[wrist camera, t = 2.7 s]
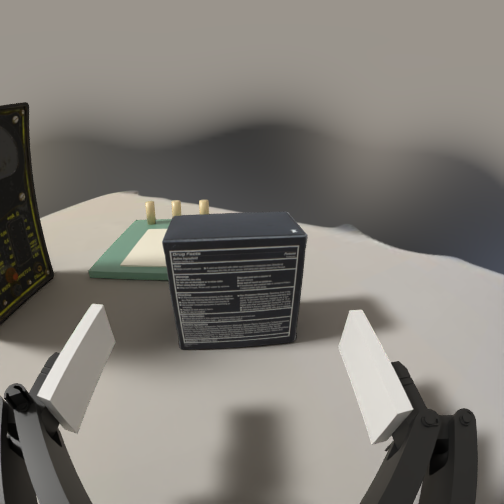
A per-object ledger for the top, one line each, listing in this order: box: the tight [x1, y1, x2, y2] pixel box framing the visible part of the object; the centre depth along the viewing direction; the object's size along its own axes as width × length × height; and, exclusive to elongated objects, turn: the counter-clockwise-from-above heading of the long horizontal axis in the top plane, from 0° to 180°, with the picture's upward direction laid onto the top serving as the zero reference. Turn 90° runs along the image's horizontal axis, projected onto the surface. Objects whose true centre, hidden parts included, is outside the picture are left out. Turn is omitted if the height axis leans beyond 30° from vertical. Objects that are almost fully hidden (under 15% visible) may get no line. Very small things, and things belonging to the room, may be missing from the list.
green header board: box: [89, 200, 209, 280], centre depth 41 cm, size 18×20×5 cm
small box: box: [162, 212, 307, 349], centre depth 24 cm, size 11×6×10 cm, turn 98°
